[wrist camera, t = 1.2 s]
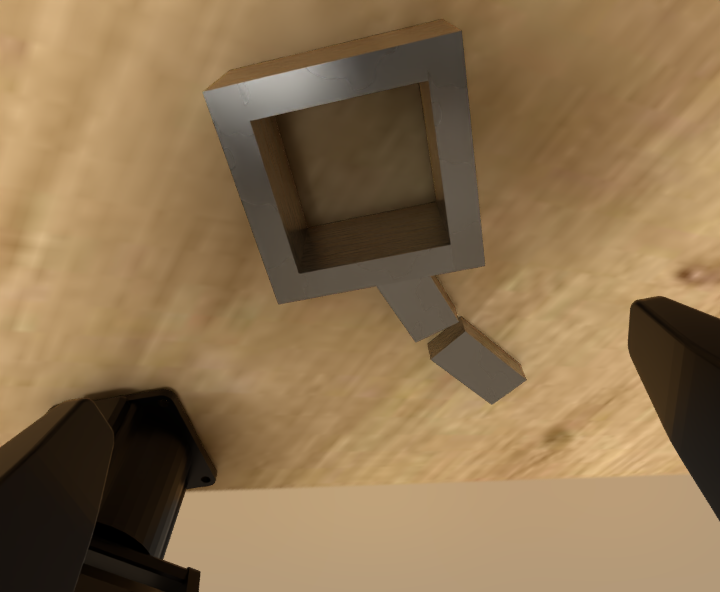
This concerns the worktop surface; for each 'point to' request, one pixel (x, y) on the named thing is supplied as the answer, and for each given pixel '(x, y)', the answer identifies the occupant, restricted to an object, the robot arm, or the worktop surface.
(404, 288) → the grey topped wooden tile
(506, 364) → the wood sided gray block
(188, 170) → the worktop surface
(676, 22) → the worktop surface
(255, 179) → the hollow square frame
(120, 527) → the robot arm
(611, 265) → the worktop surface
